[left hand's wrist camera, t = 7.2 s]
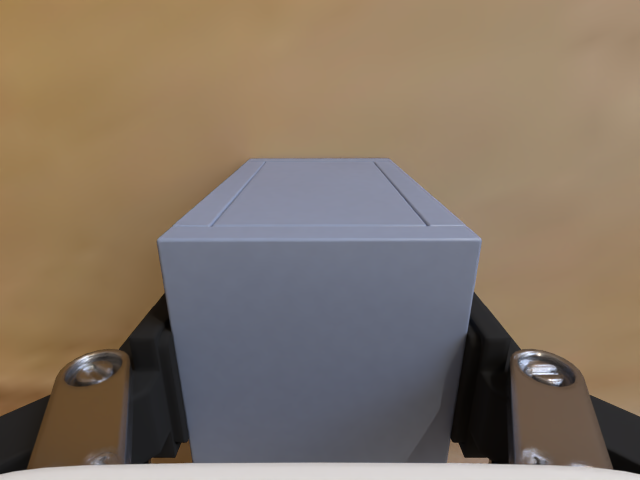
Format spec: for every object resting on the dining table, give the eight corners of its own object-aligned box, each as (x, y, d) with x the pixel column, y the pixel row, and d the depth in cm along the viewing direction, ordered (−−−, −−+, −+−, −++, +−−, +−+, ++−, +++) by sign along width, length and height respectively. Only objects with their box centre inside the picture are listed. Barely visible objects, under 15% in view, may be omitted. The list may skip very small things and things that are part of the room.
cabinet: (370, 470, 24) (405, 729, 14) (270, 470, 24) (235, 730, 14) (389, 158, 17) (483, 238, 7) (249, 158, 17) (154, 238, 7)
